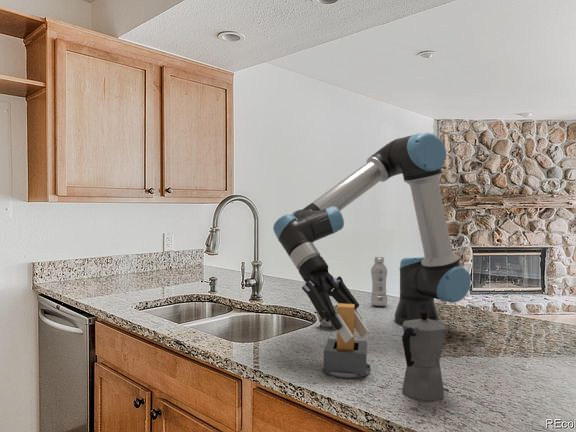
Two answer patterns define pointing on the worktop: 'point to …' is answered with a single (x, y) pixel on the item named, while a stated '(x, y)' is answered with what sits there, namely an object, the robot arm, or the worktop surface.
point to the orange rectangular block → (348, 317)
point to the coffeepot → (423, 358)
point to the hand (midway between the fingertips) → (357, 337)
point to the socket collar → (346, 360)
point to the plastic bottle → (379, 283)
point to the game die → (322, 321)
